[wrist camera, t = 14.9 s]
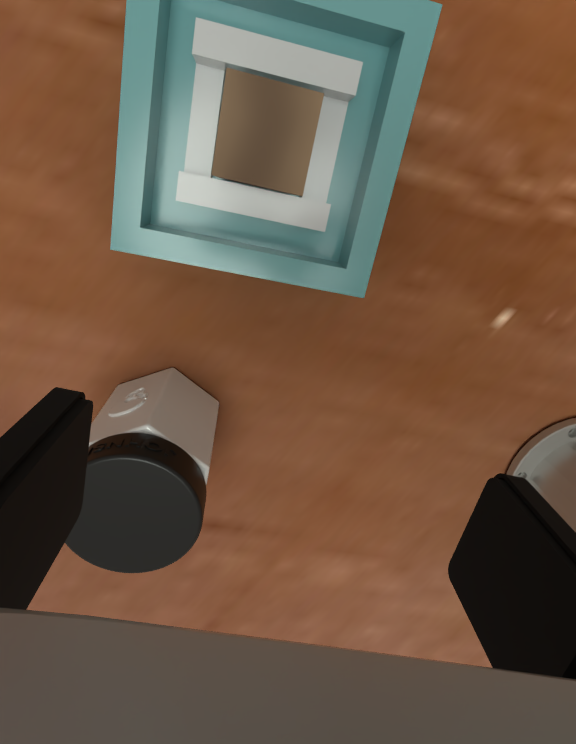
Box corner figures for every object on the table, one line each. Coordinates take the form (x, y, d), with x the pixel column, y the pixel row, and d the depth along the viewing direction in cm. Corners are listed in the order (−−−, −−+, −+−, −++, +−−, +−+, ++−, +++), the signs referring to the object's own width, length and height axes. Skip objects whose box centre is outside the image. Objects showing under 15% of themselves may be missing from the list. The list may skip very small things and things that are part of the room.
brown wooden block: (305, 118, 28) (324, 93, 21) (290, 194, 30) (302, 196, 23) (233, 99, 28) (226, 67, 20) (221, 178, 29) (211, 175, 22)
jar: (200, 354, 35) (175, 433, 24) (236, 443, 38) (230, 549, 27) (89, 390, 35) (14, 483, 24) (134, 474, 38) (86, 592, 27)
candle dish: (417, 28, 28) (446, 0, 24) (351, 286, 34) (365, 299, 29) (149, -48, 26) (129, -94, 22) (127, 242, 31) (107, 250, 27)
